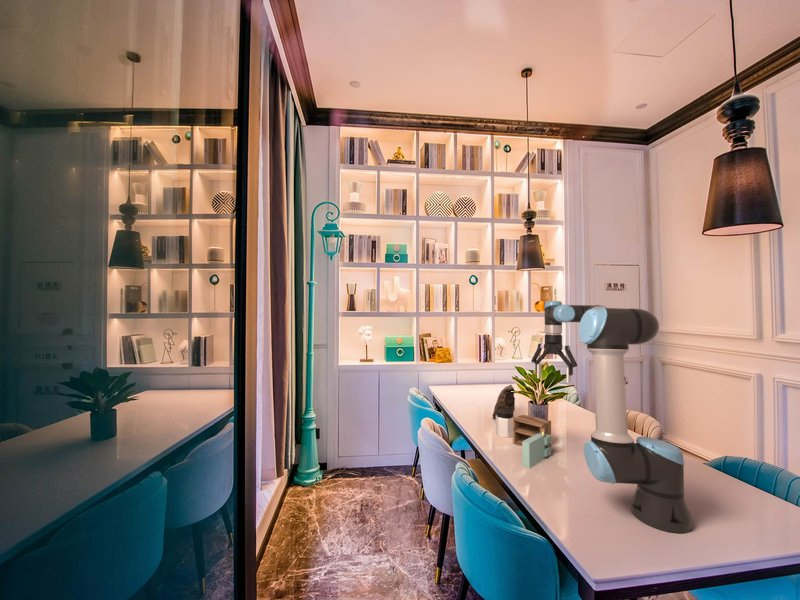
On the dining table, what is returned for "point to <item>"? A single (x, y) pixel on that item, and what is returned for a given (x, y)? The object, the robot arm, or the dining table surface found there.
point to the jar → (504, 423)
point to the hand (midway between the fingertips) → (553, 380)
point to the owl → (505, 400)
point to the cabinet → (529, 428)
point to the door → (535, 449)
